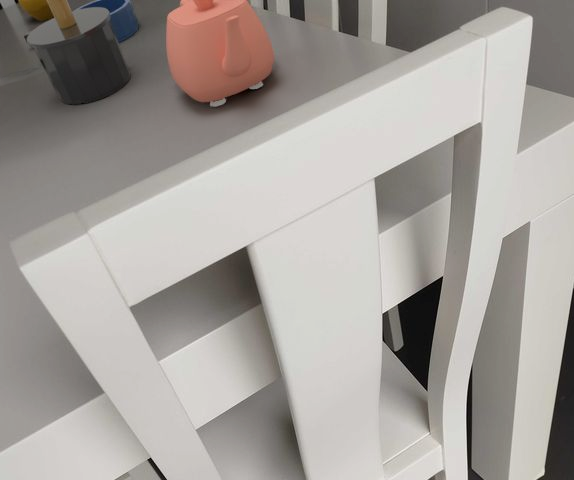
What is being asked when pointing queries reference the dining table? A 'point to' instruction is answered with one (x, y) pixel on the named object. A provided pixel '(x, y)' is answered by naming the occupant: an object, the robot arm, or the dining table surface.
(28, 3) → the apple
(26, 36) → the pan handle
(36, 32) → the lid
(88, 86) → the pot
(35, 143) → the dining table surface
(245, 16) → the teapot
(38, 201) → the dining table surface
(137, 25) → the pan
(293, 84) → the dining table surface
